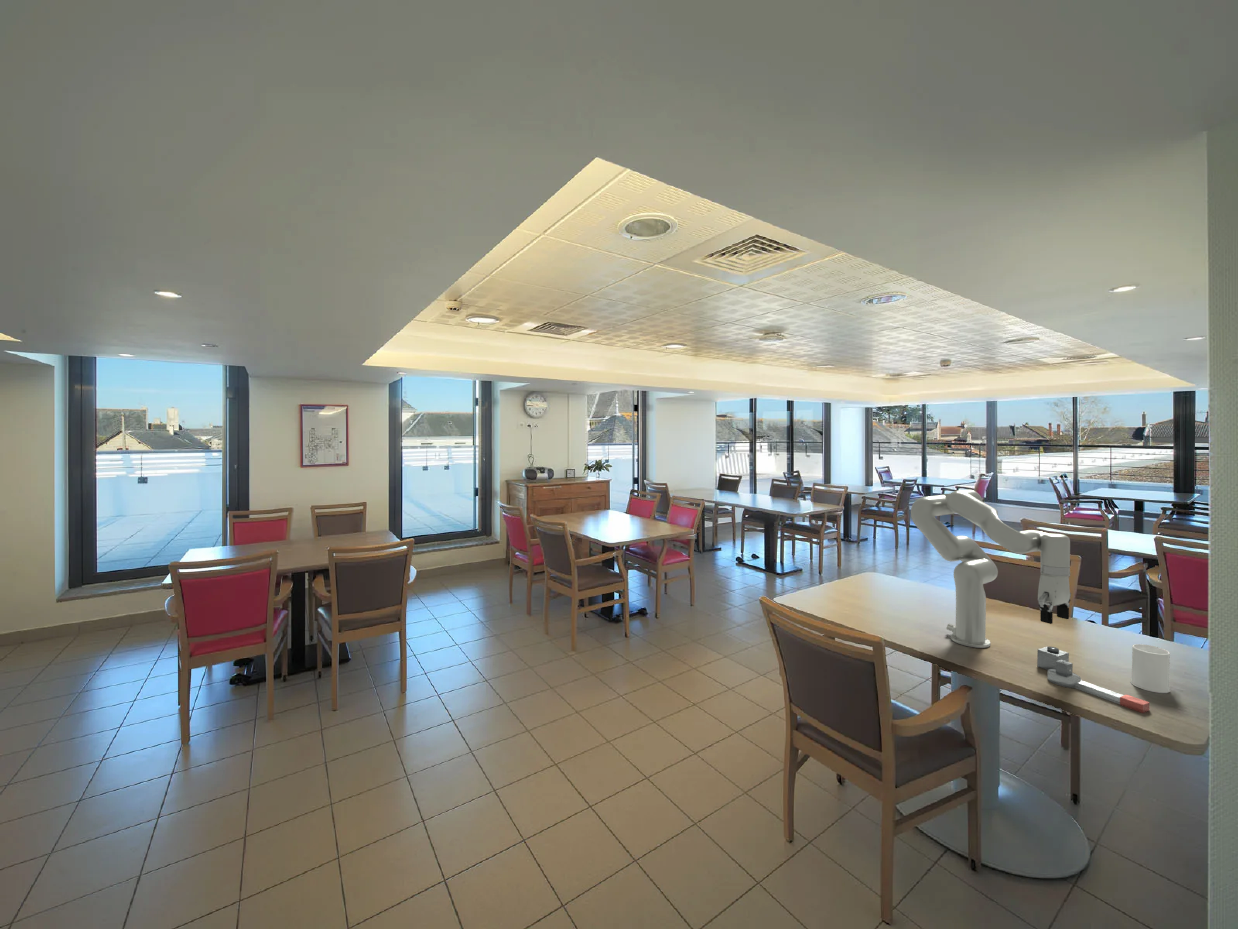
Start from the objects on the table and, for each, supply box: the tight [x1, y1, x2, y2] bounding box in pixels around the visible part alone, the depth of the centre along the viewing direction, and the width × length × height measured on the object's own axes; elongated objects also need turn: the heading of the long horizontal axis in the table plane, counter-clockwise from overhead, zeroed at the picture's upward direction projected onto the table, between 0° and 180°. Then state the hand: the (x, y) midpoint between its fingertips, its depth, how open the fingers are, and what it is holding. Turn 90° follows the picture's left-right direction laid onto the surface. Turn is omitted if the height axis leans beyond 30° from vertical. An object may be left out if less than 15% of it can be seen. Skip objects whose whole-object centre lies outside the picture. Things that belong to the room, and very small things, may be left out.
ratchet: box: [1047, 660, 1150, 714], centre depth 153 cm, size 24×8×6 cm, turn 22°
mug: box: [1130, 643, 1171, 694], centre depth 156 cm, size 12×8×12 cm
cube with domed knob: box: [1036, 646, 1070, 671], centre depth 170 cm, size 6×6×7 cm
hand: (1054, 620), depth 169 cm, fingers open, 9 cm apart
